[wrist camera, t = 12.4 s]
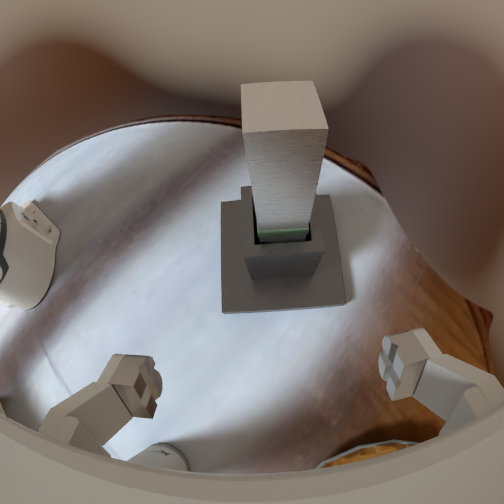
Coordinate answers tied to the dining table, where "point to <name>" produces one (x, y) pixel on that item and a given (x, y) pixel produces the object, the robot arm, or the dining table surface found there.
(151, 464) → the travel mug
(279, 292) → the grey square socket stand
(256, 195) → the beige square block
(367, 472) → the robot arm
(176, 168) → the dining table surface
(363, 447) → the pie
